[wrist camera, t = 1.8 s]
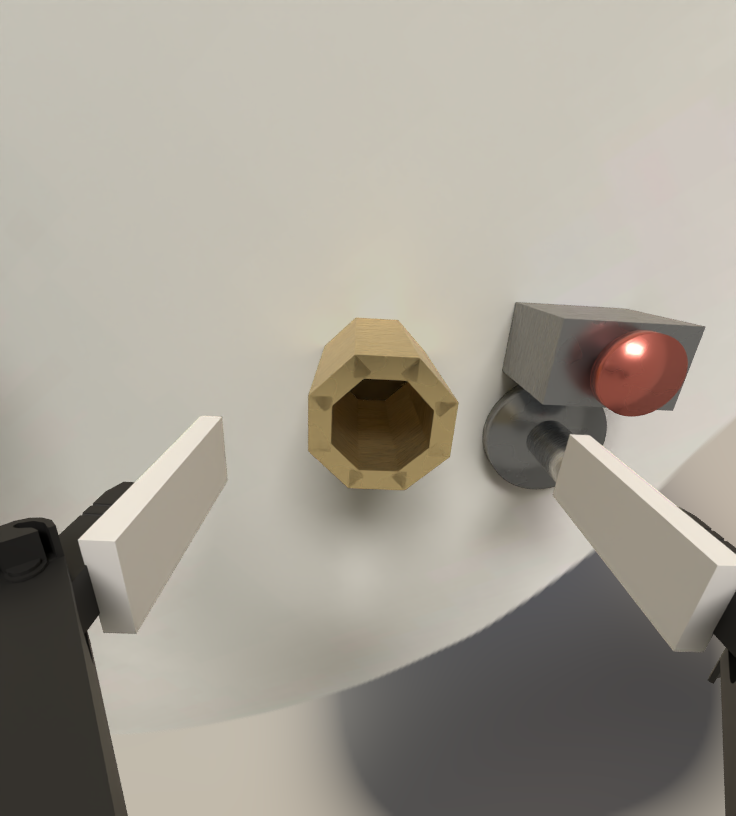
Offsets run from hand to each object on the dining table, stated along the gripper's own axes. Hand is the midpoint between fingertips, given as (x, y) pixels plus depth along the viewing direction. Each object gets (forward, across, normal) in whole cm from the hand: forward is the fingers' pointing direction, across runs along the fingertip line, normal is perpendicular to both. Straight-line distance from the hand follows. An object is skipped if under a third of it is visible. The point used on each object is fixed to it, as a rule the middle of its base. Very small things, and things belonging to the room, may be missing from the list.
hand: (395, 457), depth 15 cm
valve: (+12, +11, -1) cm, 16 cm away
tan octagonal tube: (+11, -1, 0) cm, 11 cm away
